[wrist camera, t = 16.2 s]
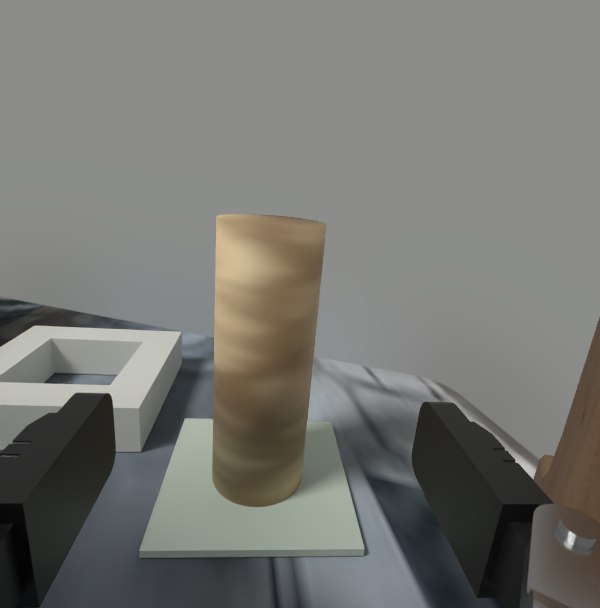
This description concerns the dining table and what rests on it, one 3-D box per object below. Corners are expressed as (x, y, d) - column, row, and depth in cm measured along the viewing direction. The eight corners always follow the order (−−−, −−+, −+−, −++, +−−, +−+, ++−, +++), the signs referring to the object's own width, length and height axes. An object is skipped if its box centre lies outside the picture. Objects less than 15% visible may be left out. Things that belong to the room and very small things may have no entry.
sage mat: (139, 557, 17) (138, 550, 17) (184, 423, 27) (184, 418, 27) (363, 555, 18) (364, 548, 18) (330, 426, 28) (331, 421, 28)
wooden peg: (205, 506, 20) (208, 221, 16) (218, 443, 24) (223, 211, 20) (305, 507, 20) (334, 230, 16) (298, 445, 25) (319, 219, 21)
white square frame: (-77, 448, 23) (-88, 402, 22) (38, 358, 34) (34, 325, 33) (140, 452, 24) (138, 408, 23) (182, 363, 35) (181, 332, 34)
